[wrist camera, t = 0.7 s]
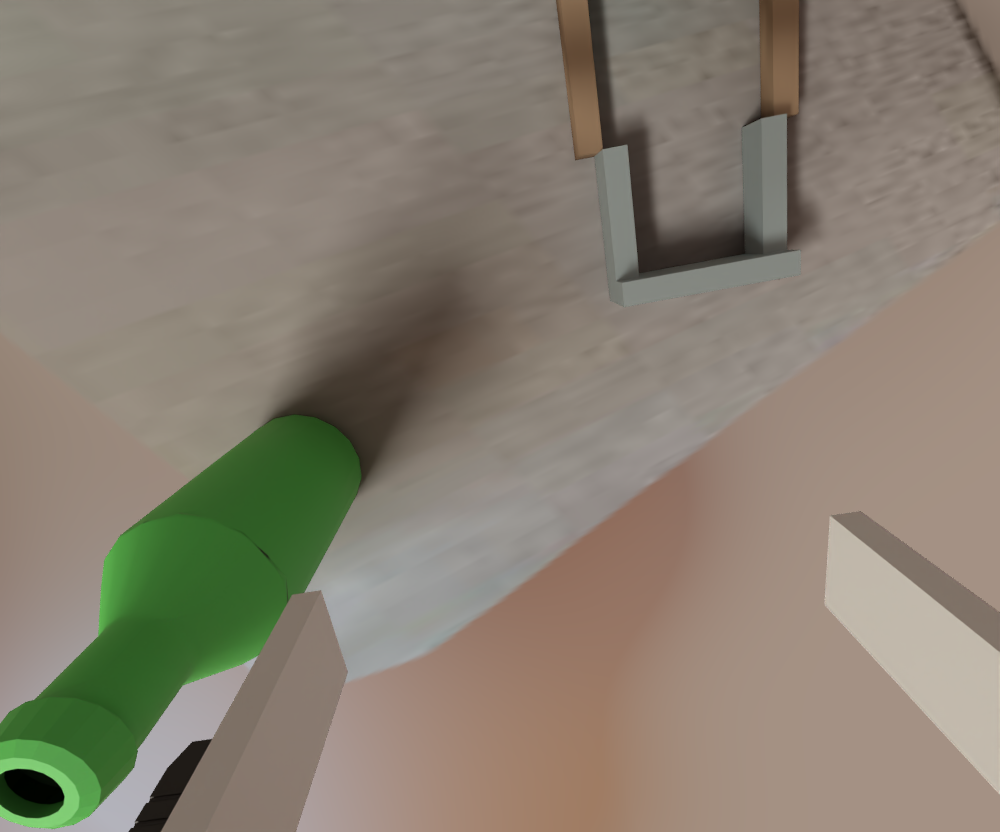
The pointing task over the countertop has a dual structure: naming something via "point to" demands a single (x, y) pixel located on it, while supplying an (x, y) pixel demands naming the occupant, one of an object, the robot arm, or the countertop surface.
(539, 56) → the countertop surface
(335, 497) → the bottle
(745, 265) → the grey u-shaped block
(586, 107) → the guide track
